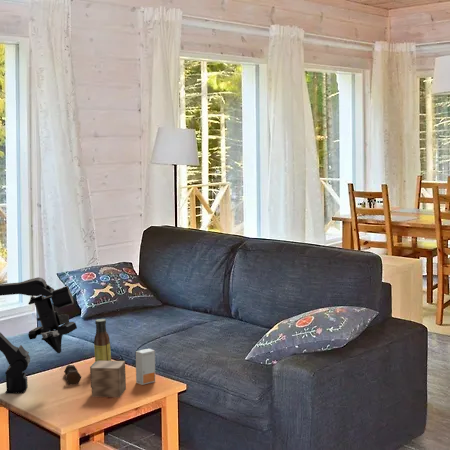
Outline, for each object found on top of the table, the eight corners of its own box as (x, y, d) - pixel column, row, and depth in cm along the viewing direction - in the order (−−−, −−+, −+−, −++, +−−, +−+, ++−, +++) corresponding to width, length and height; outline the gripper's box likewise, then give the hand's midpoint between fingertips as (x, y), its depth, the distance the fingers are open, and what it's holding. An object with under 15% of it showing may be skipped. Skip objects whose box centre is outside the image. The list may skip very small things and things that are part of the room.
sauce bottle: (106, 365, 292) (104, 317, 290) (114, 369, 288) (113, 319, 286) (91, 369, 288) (90, 319, 286) (99, 372, 284) (98, 322, 281)
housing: (90, 396, 256) (89, 367, 255) (97, 388, 265) (96, 360, 264) (119, 397, 255) (119, 368, 254) (125, 388, 264) (125, 360, 263)
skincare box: (142, 385, 267) (141, 353, 266) (135, 382, 270) (135, 351, 269) (156, 381, 271) (155, 350, 270) (149, 379, 274) (148, 348, 273)
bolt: (72, 377, 284) (76, 388, 270) (60, 372, 283) (63, 382, 268) (79, 364, 285) (83, 373, 270) (67, 359, 283) (71, 368, 269)
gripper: (79, 301, 264) (92, 341, 266) (41, 307, 273) (54, 346, 275) (60, 311, 254) (73, 353, 256) (21, 318, 263) (34, 358, 265)
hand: (59, 352), depth 264 cm, fingers closed
